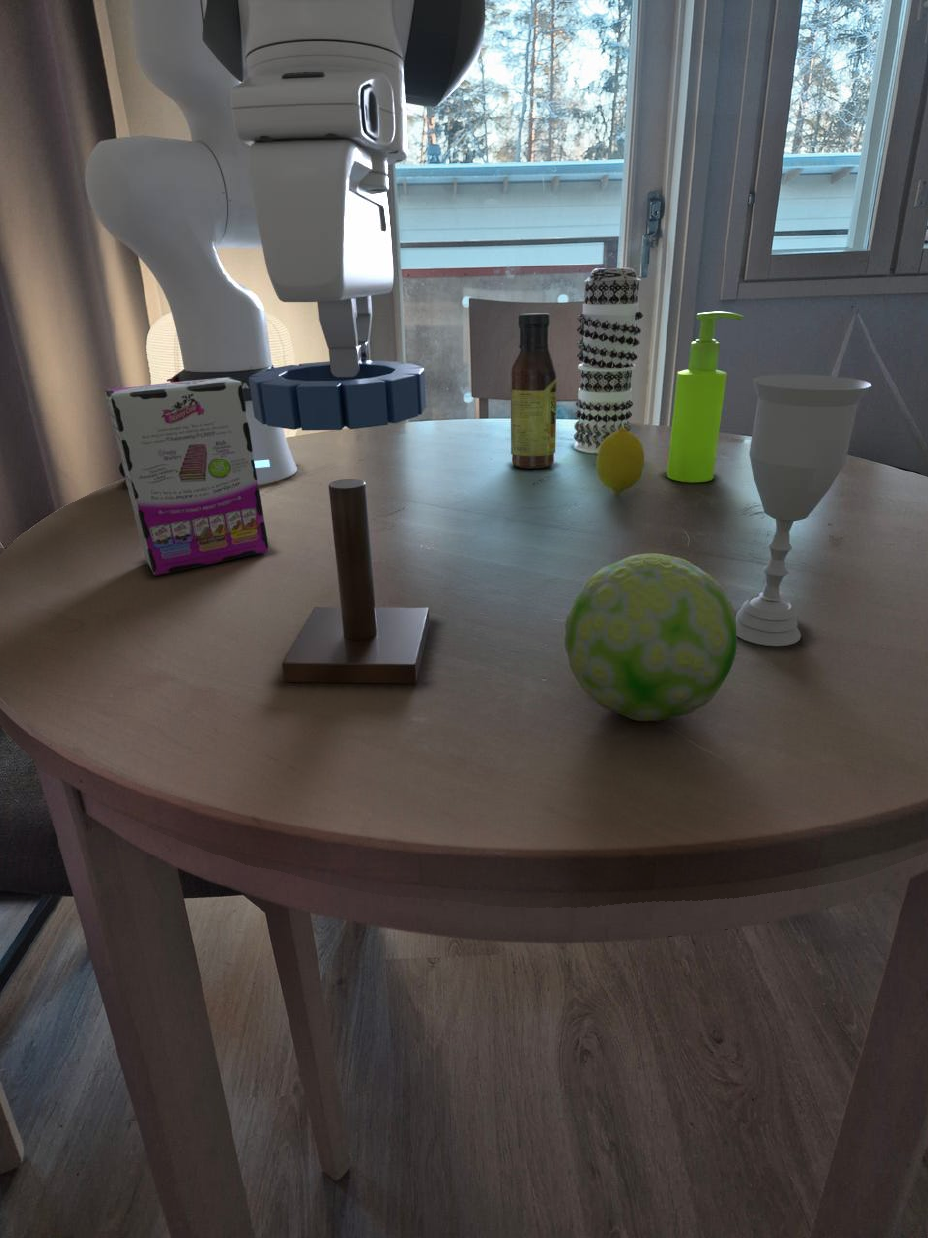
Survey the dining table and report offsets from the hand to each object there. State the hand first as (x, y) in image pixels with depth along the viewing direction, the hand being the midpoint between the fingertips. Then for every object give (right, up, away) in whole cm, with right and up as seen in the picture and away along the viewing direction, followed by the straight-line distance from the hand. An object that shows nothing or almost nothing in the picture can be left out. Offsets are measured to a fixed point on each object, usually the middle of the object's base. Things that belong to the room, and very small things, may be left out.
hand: (352, 372), depth 48 cm
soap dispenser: (+38, +2, +46) cm, 60 cm away
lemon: (+26, -1, +40) cm, 48 cm away
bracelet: (0, -3, -3) cm, 5 cm away
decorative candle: (+29, +10, +63) cm, 70 cm away
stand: (0, -19, +4) cm, 19 cm away
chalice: (+30, -17, +6) cm, 35 cm away
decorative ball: (+19, -22, -3) cm, 29 cm away
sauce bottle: (+17, +5, +54) cm, 57 cm away
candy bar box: (-18, -11, +23) cm, 31 cm away
